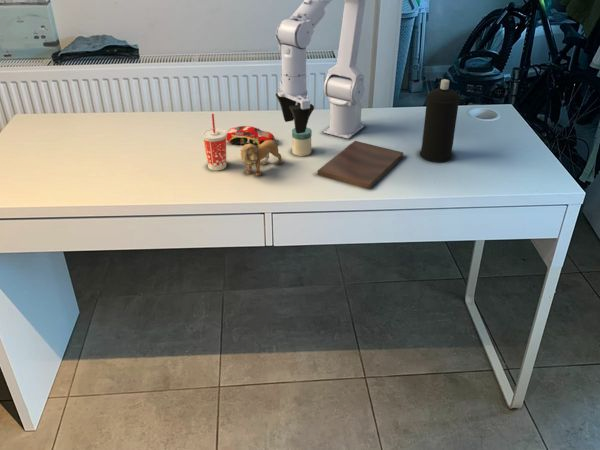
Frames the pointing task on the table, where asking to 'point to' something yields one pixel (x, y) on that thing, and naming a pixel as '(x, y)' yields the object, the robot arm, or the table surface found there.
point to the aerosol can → (440, 123)
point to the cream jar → (301, 142)
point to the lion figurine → (259, 154)
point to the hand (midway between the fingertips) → (294, 126)
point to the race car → (248, 135)
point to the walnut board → (361, 164)
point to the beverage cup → (215, 147)
